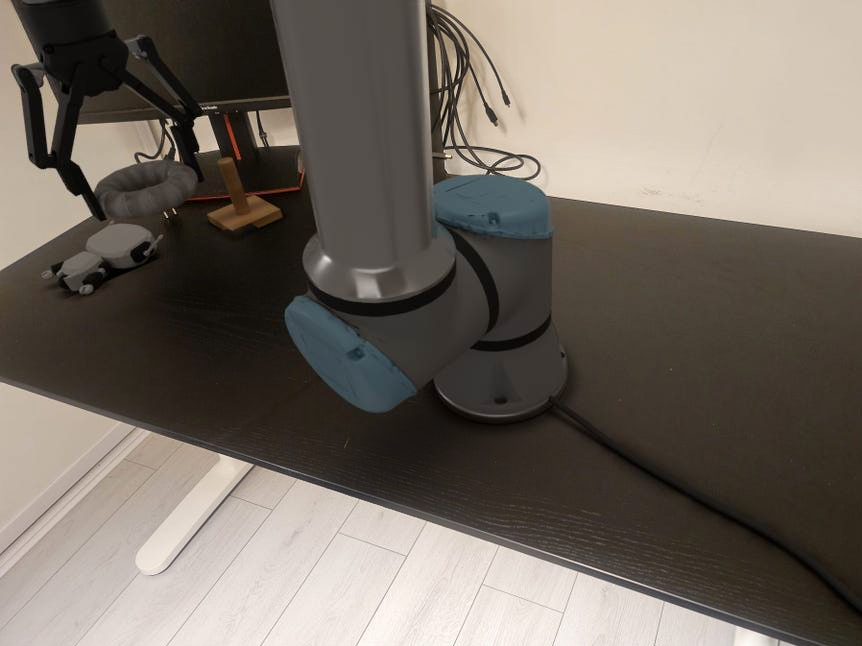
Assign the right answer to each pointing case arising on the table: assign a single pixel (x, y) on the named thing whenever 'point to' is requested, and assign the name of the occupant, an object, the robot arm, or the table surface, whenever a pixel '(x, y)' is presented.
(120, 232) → the robot toy
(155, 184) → the ring
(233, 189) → the stand
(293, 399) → the table surface
